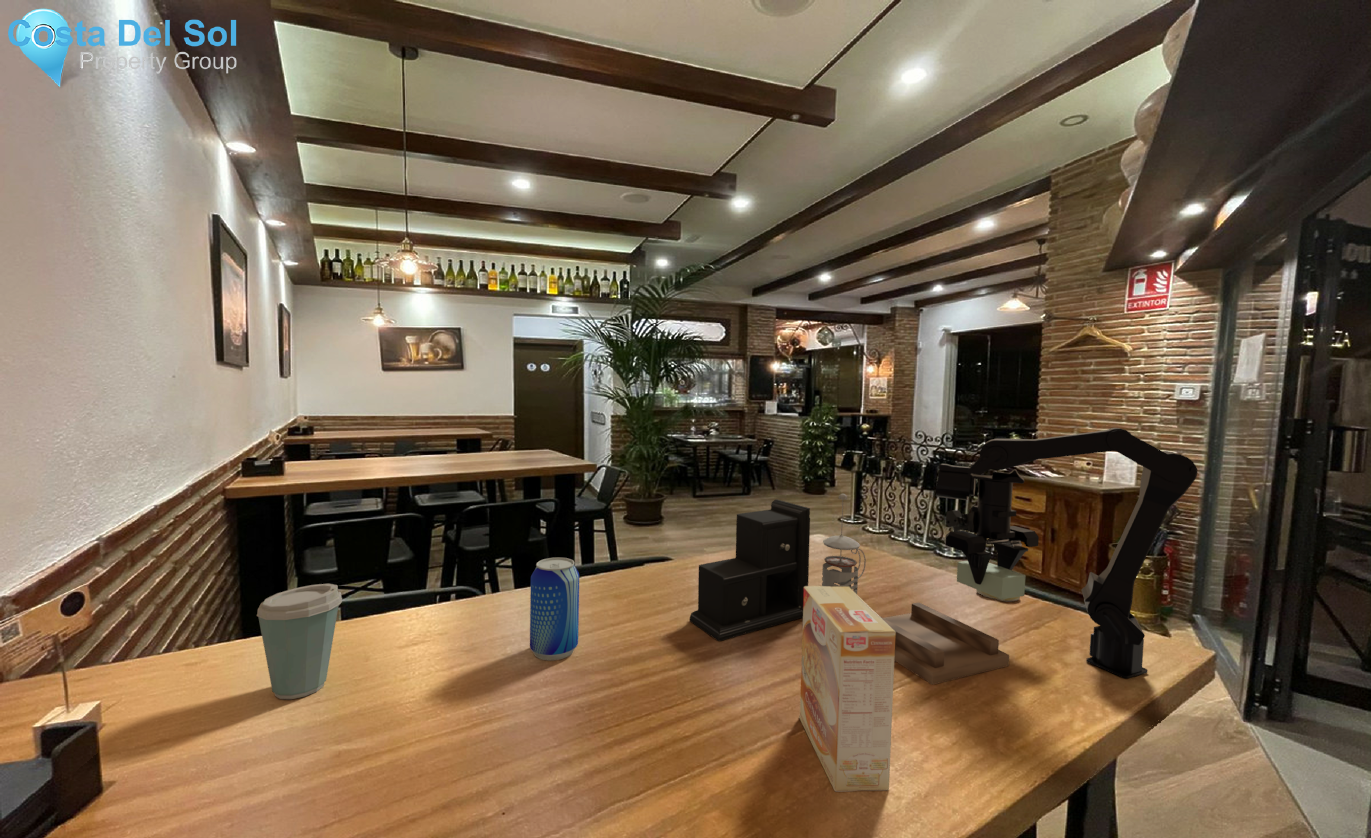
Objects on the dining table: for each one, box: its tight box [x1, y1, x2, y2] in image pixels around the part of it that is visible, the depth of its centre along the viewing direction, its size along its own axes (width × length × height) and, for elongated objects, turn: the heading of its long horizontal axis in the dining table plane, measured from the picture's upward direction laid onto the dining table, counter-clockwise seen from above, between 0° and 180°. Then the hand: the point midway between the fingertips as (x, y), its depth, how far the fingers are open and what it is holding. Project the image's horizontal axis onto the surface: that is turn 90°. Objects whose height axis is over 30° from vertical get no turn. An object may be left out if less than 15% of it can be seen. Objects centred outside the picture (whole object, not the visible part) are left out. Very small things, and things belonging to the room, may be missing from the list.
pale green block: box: [956, 560, 1026, 599], centre depth 105 cm, size 10×6×4 cm, turn 21°
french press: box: [821, 493, 867, 595], centre depth 122 cm, size 10×12×25 cm
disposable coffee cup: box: [256, 583, 343, 700], centre depth 82 cm, size 11×11×15 cm
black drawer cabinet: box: [689, 498, 811, 642], centre depth 111 cm, size 23×11×24 cm, turn 122°
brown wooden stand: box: [880, 602, 1010, 685], centre depth 100 cm, size 20×18×4 cm
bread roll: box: [975, 589, 1021, 603], centre depth 129 cm, size 8×9×4 cm
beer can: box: [529, 557, 580, 662], centre depth 95 cm, size 8×8×16 cm
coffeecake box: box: [798, 585, 896, 793], centre depth 70 cm, size 15×7×20 cm, turn 4°
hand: (989, 582), depth 105 cm, fingers closed on pale green block, 6 cm apart
